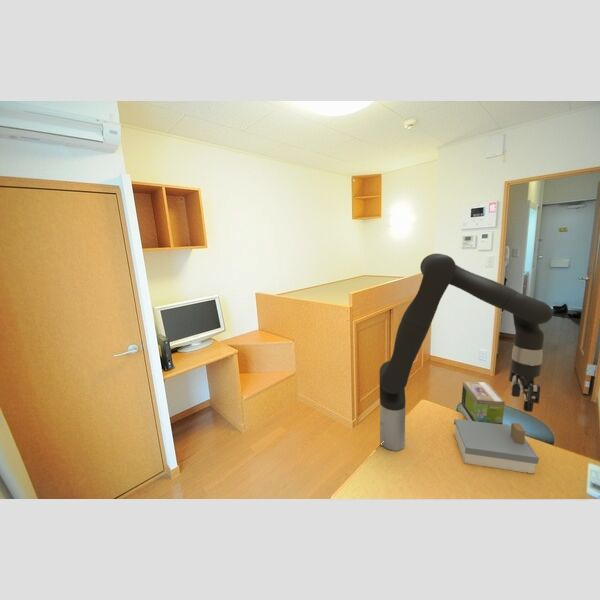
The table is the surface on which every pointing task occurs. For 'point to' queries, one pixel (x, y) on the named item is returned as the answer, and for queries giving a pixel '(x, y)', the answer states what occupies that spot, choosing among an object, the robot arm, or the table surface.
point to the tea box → (481, 403)
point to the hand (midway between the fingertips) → (521, 403)
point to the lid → (496, 440)
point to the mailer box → (492, 459)
